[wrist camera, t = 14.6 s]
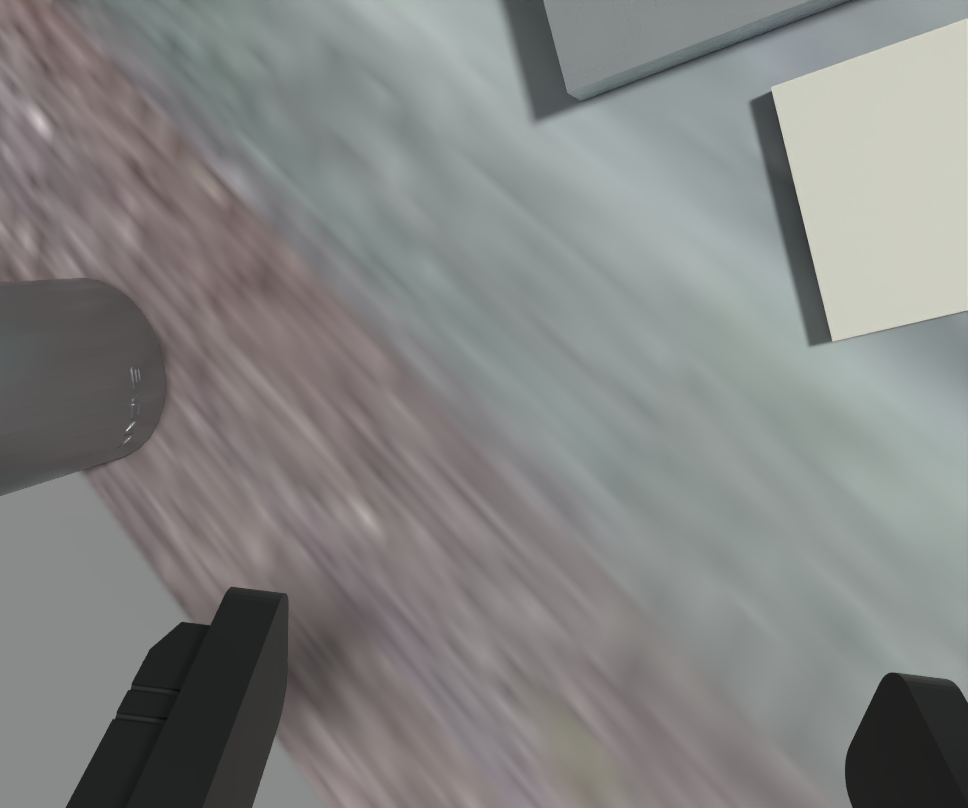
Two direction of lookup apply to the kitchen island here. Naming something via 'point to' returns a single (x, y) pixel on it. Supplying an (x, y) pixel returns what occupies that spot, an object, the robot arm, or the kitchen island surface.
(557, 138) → the kitchen island surface
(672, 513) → the kitchen island surface
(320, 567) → the kitchen island surface
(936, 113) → the pad
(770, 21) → the grey slotted base
